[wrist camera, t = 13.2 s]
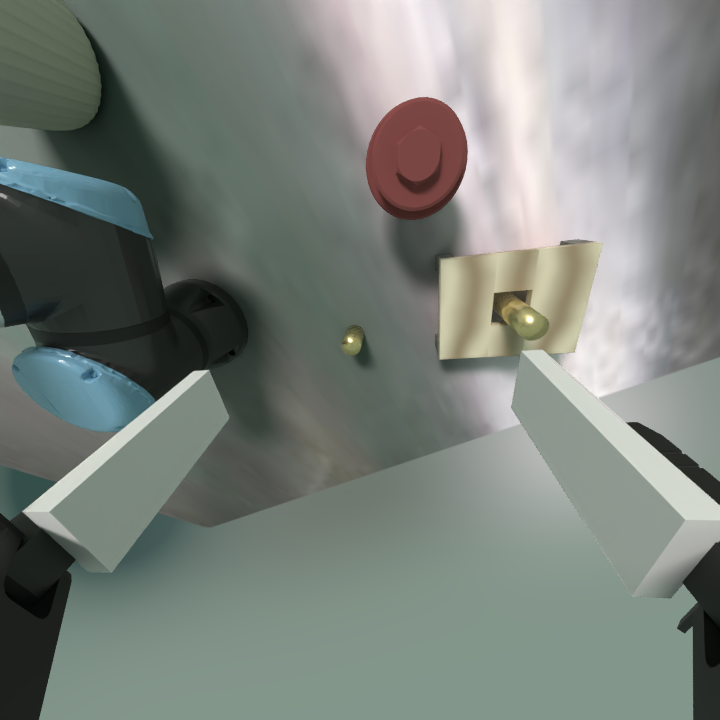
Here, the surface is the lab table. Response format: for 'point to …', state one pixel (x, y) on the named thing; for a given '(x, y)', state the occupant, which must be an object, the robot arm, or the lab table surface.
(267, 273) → the lab table surface
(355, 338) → the short pin
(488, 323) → the stand
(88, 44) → the canister
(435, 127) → the mechanical component
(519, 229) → the lab table surface
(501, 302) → the long pin
